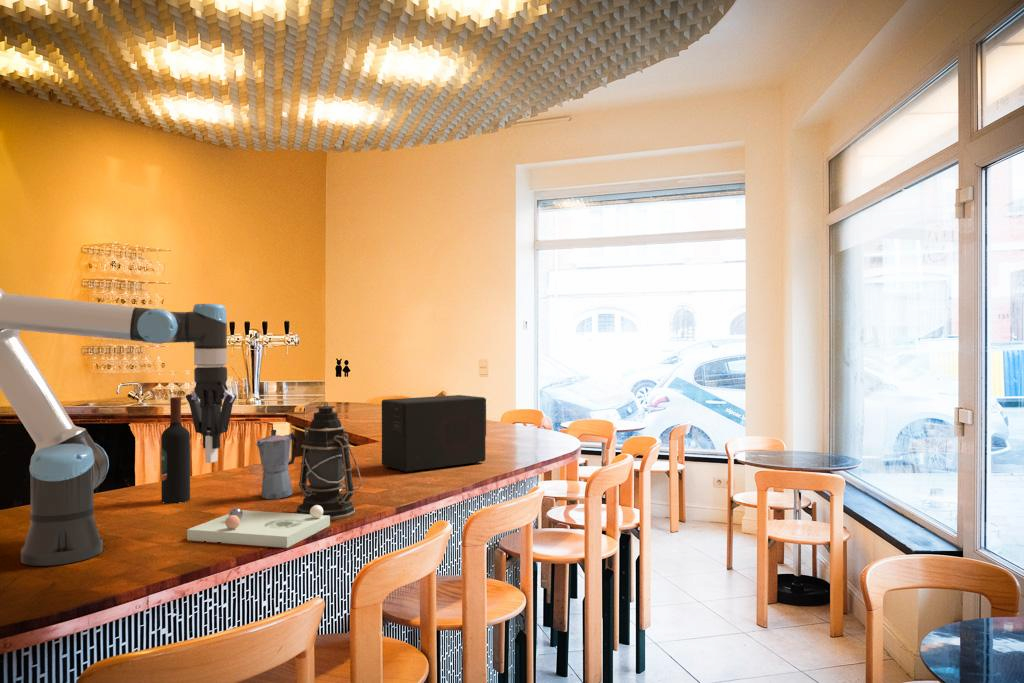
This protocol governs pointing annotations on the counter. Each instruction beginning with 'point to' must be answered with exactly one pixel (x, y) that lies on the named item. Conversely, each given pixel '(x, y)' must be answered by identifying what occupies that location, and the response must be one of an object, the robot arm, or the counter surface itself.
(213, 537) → the board
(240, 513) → the steel ball
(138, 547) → the counter surface
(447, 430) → the black rectangular block
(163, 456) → the wine bottle
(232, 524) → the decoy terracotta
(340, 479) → the lantern
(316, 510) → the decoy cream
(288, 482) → the moka pot
